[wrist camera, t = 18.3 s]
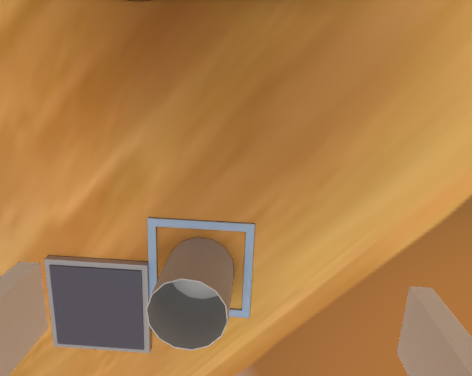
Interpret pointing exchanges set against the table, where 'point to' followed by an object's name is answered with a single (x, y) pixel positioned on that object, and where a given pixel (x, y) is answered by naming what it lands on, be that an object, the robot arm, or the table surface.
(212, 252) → the cup
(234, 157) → the table surface
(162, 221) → the marked square
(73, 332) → the pad
